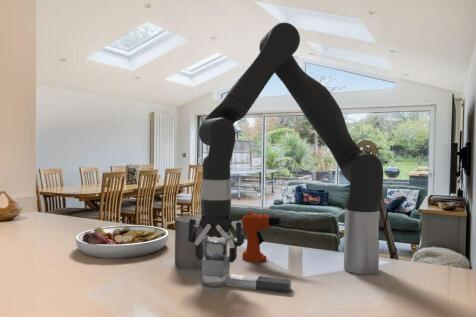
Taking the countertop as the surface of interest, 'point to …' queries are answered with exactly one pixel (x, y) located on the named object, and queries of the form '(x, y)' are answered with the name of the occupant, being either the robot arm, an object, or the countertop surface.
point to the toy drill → (258, 234)
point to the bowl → (121, 241)
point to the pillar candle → (186, 243)
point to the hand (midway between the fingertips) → (215, 260)
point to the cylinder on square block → (215, 258)
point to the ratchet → (248, 282)
